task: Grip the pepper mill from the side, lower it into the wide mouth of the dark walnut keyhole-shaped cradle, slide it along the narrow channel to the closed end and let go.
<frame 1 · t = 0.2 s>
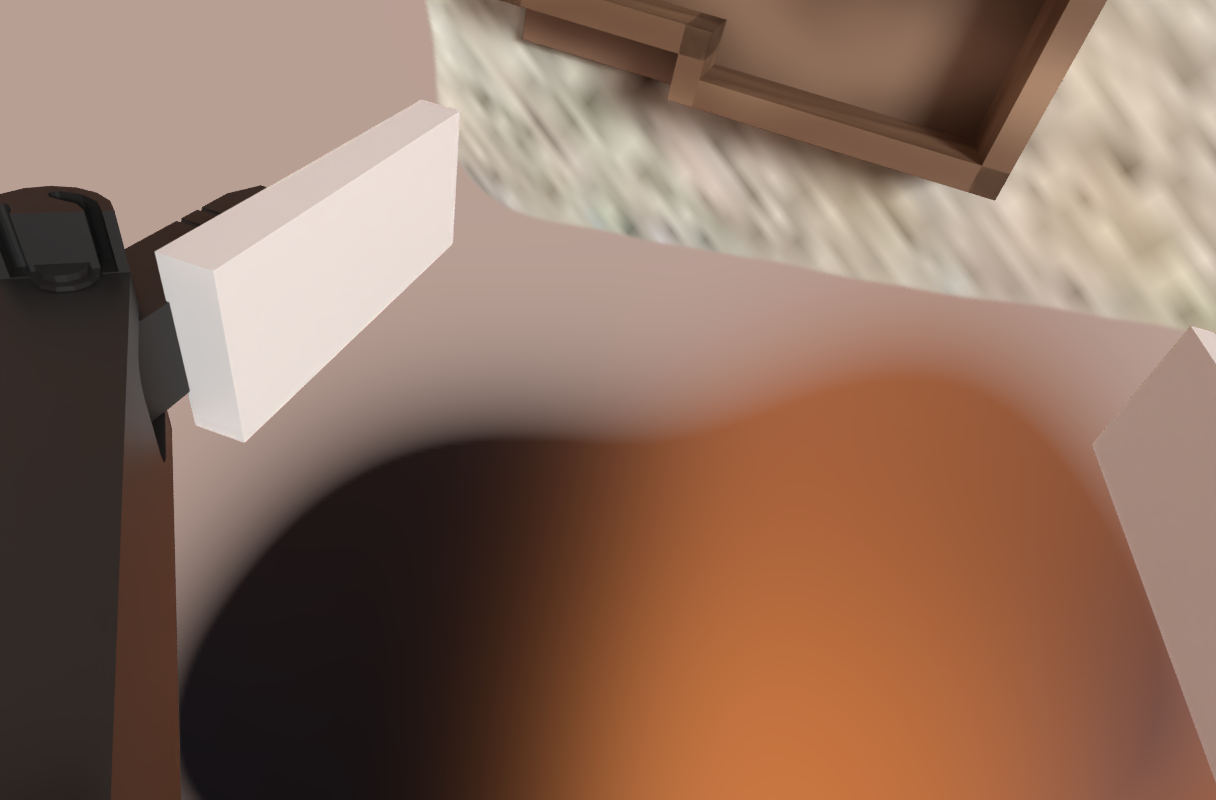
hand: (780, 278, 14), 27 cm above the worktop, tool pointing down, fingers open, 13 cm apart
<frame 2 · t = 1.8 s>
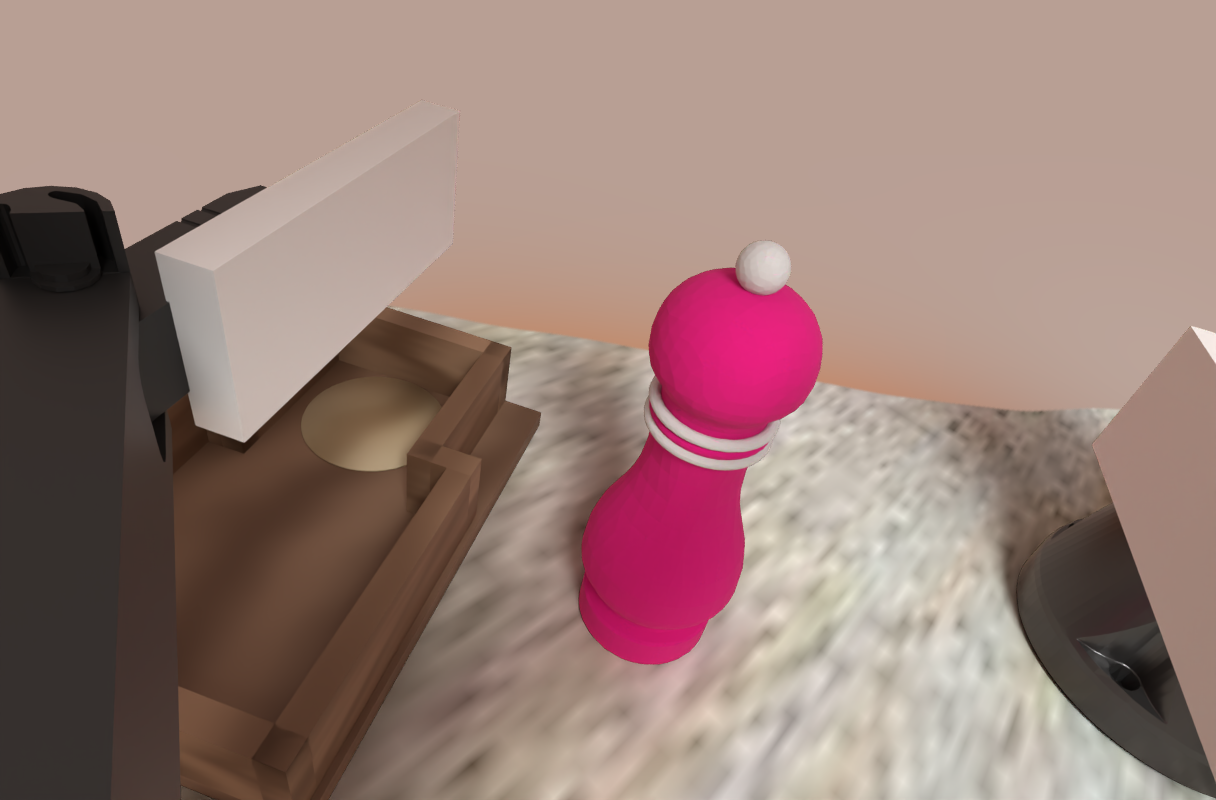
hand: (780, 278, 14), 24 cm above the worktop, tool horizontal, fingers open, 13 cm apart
keyhole cradle: (302, 523, 36), on the worktop
pepper mill: (640, 609, 36), on the worktop
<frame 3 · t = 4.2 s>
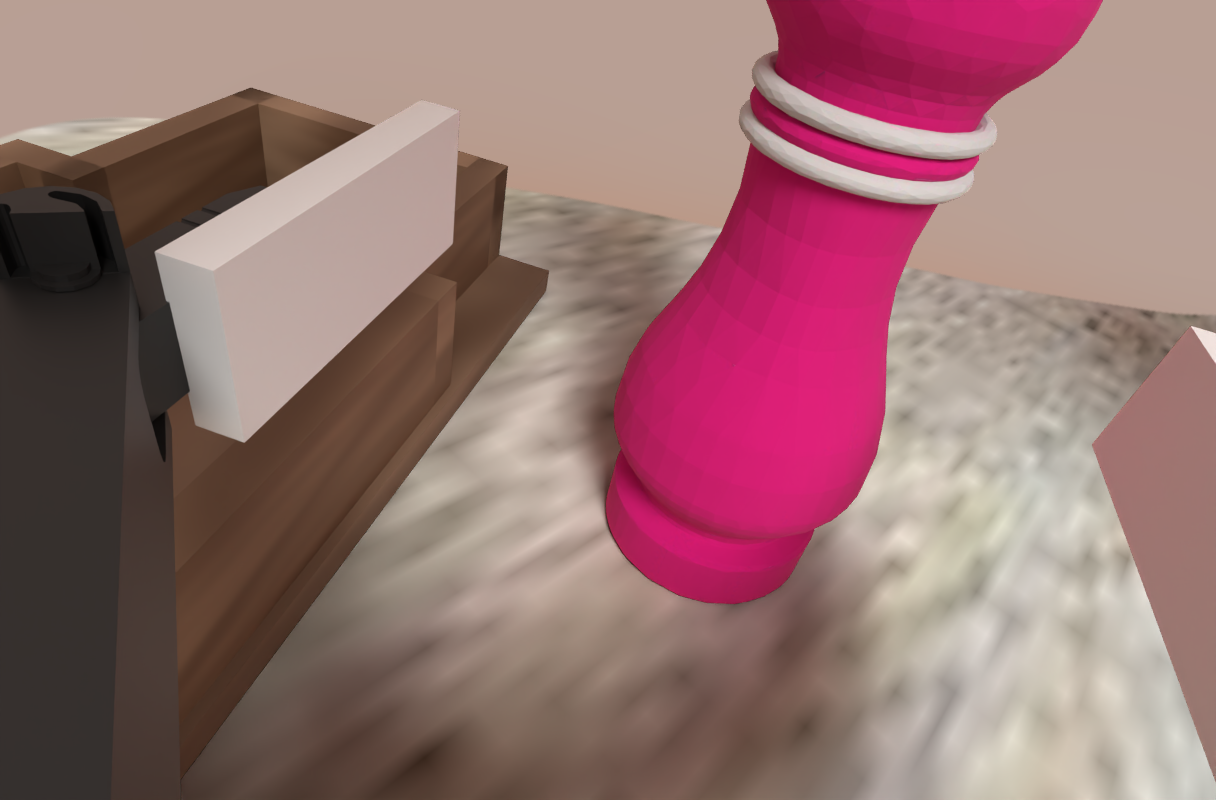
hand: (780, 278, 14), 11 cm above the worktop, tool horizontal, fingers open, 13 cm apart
keyhole cradle: (184, 388, 24), on the worktop
pepper mill: (699, 526, 24), on the worktop
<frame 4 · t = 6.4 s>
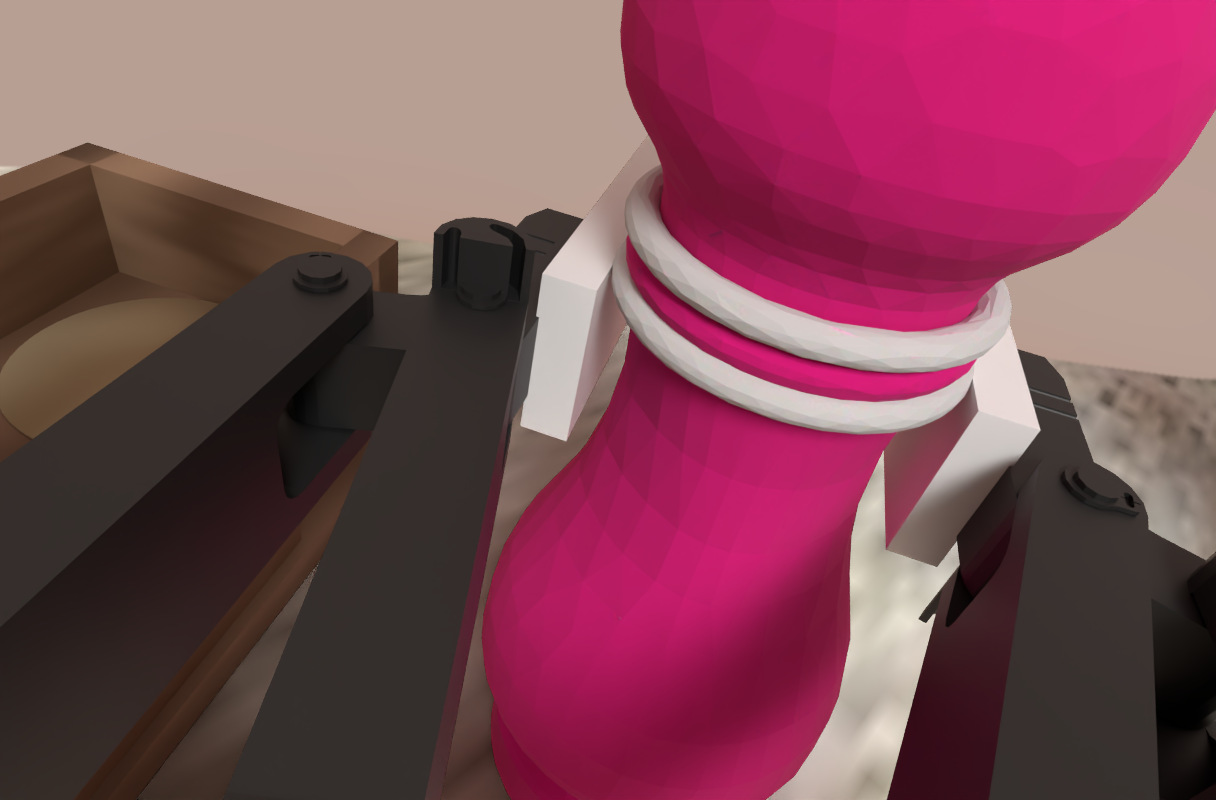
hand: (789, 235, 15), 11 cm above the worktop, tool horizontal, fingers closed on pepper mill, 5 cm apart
pepper mill: (618, 732, 18), on the worktop, touching gripper
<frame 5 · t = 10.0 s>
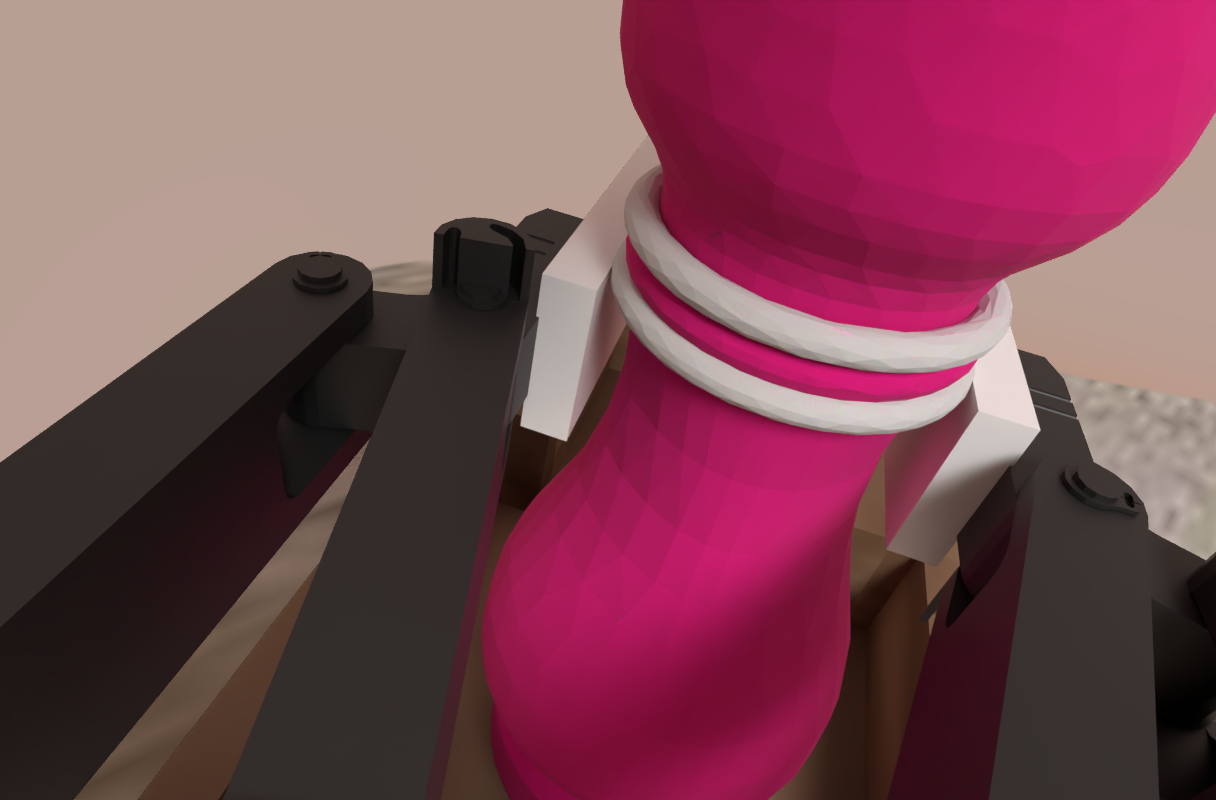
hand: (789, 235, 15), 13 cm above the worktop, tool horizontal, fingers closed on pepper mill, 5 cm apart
keyhole cradle: (645, 629, 23), on the worktop
pepper mill: (617, 733, 18), point 2 cm above the worktop, touching gripper
when the fingers open (12 cm above the worktop, at t = 13.8 s): pepper mill stays where it is, resting on keyhole cradle.
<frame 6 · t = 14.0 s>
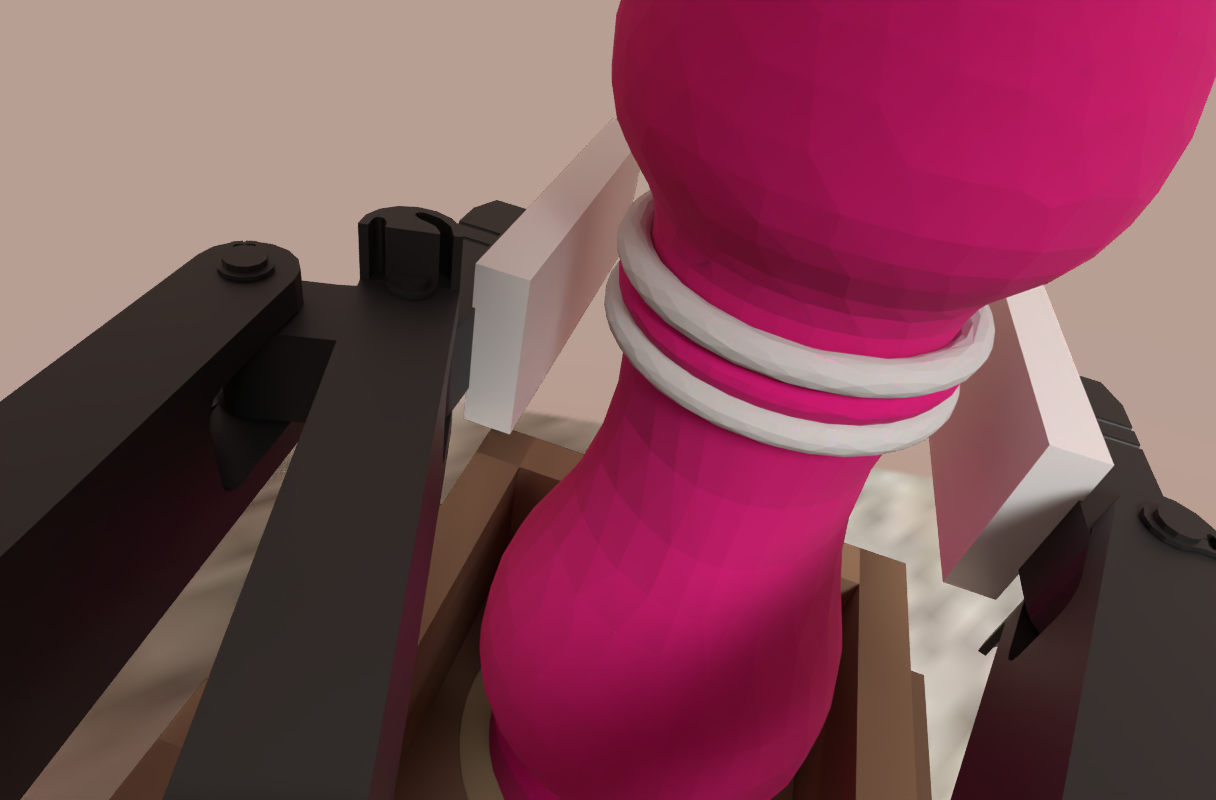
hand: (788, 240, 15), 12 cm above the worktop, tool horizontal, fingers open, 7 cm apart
pepper mill: (614, 740, 18), point 1 cm above the worktop, touching keyhole cradle
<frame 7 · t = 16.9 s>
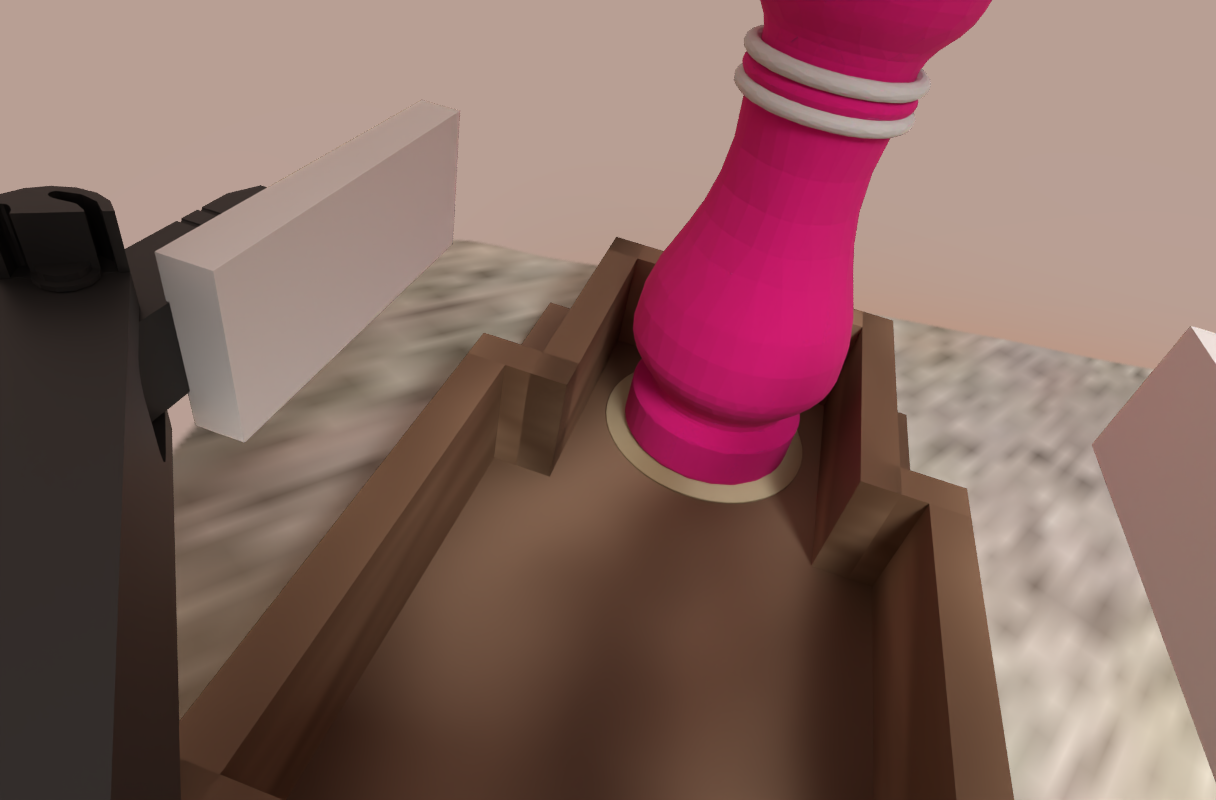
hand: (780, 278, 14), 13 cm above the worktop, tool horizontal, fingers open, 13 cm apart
keyhole cradle: (658, 585, 23), on the worktop
pepper mill: (703, 430, 28), point 1 cm above the worktop, touching keyhole cradle
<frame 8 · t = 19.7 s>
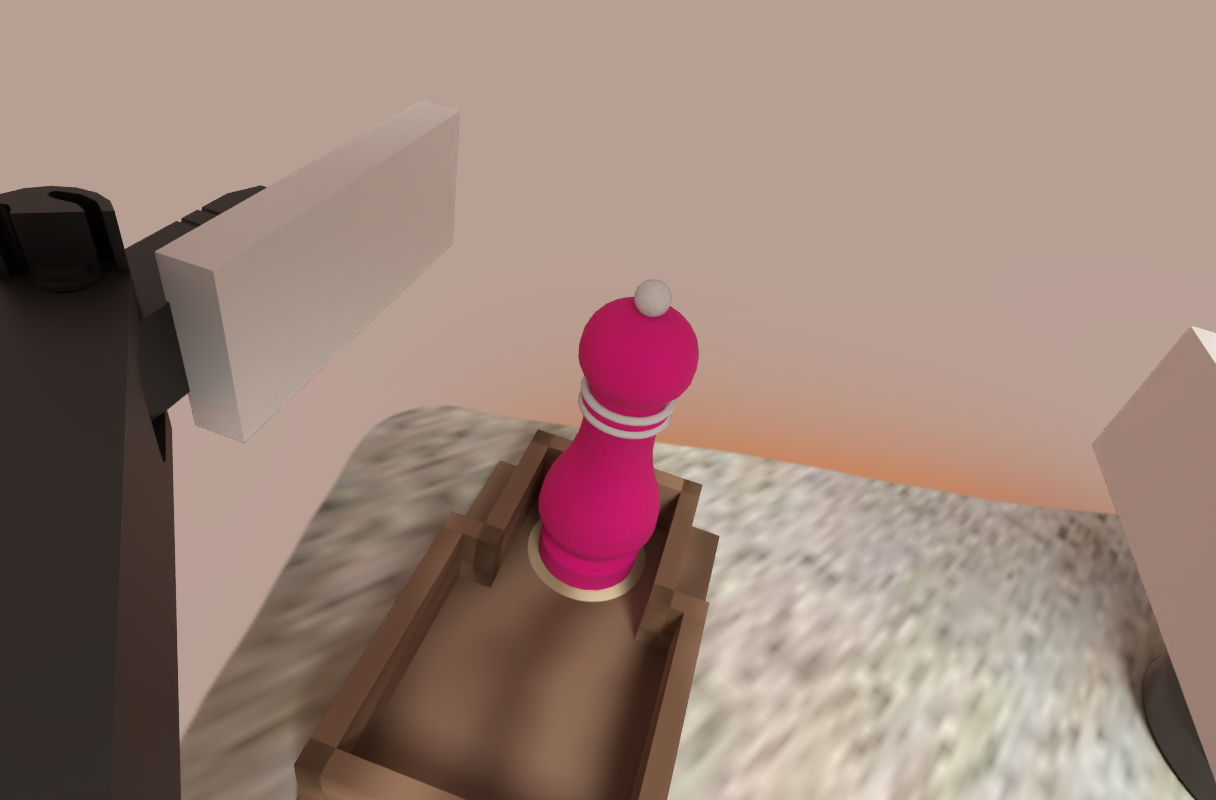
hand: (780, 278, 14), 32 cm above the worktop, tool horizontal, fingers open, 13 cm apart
keyhole cradle: (547, 651, 42), on the worktop
pepper mill: (586, 552, 47), point 1 cm above the worktop, touching keyhole cradle
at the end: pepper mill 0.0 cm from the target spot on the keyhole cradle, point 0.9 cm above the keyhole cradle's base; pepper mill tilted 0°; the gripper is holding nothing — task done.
